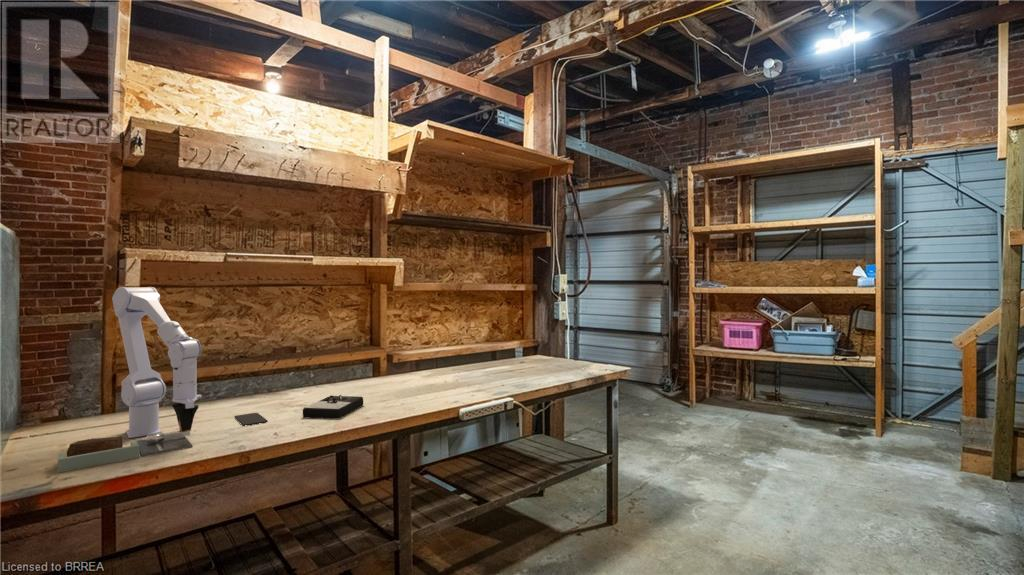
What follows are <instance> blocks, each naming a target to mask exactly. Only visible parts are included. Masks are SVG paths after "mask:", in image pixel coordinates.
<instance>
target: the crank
mask: <svg viewBox="0 0 1024 575" xmlns="http://www.w3.org/2000/svg"><path fill="white" fill-rule="evenodd" d="M178 427H179V428H178V430H176V431H171V432H162V433H154V434H150V435H146V439H147V442H148V443H155V442H160V441H163V440H167V439H173V438H179V437H184V436H185V437H189V436H191V430H186V431H182V429H181V425H180V420H179V424H178Z"/></svg>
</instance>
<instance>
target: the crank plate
mask: <svg viewBox="0 0 1024 575" xmlns="http://www.w3.org/2000/svg"><path fill="white" fill-rule="evenodd" d="M136 441H137V443H138V445H139V453H140V454H141V456H142V457H148V456H150V455H157V454H163V452H164V453H167V452H169V453H170V452H174V451H179V450H183V448H185V449H189V448H188V447H190V448H193V444H192V443H191V441H190V440H188V438H187V436H184V437H179V438H173V439H167V440H163V441H160V442H155V443H148V442H147V438H145V439H140V440H136ZM173 450H174V451H173Z"/></svg>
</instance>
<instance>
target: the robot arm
mask: <svg viewBox="0 0 1024 575" xmlns="http://www.w3.org/2000/svg"><path fill="white" fill-rule="evenodd" d="M111 298H112V300H111V301H112V306H113V310H114V314H115V317H117V318H118V323H119V324H118V325H119V327H120V329H119V330H120V333H121V338H122V342H123V348H124V353H125V357H126V361H127V366H128V371H129V372H128V375H127V376H126V377H125V378H123V380H121V382H120V384H121V391H120V396H121V400H122V401H123V403H124V405H126V406H127V407H128V429H126V430H125V433H126V436H127V437H128V438H129V439H133V438H138V437H147V435H150V434H154V433H163V430H162V429H161V428H160V425H159V424H160V420H159V419H160V416H159V415H160V411H159V410H160V408H159V407H160V405H159V404H160V402H162V398H164V397H165V395H166V392H167V385H166V384H165V382H164V381H163V379H162V375H161V373H159V372H157V370H154V369H152V367H151V362H150V357H149V352H148V347H147V343H146V339H145V334H144V329H143V325H142V319H143V317H144V316H147V317H148V318H149V319H150V320H151V321H152V322H153V323H154V324H155V325H156V326H157V327H158V328H157V331H156V333H157V334H158V336H159V338H160V339H161V340H162V341H163V343H164V344H165V345H166V347H167V348H168V350H167V357H168V358H169V360H170V366H171V367H172V400H171V401H172V402H173V404H171V407H172V408H173V410H174V413H175V415H176V419H177V424H178V425H179V420H180V425H181V429H182V431H186V430H190V431H191V430H192V427H193V422H194V418H195V415H196V414H197V411H198V409H199V406H200V405H199V404H196V401H197V400H199V399H202V396H203V395H202V394H198V391H197V390H198V389H197V388H198V387H197V386H198V384H197V380H198V378H197V377H198V375H197V373H198V372H197V370H198V368H197V367H198V366H197V363H198V362H197V360H198V358H200V356H201V355H202V351H203V350H202V344H201V342H200V341H199V339H196V338H193V337H191V336H189V335H188V334H187V333H186V331H185V330H184V329H183V327H182V326H181V325H180V323H179V322H177V321H174V320H171V319H170V317H169V316H168V314H167V313H166V311H165V309H164V308H163V306H162V304H161V303H160V300H161V294H160V293H159V292H158V290H157V288H156V287H154V286H153V287H152V286H147V287H142V286H139V287H134V286H133V287H130V286H129V287H128V286H127V287H125V286H120V287H118V288H116V290H115V292H114V293H113V295H112V297H111Z"/></svg>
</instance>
